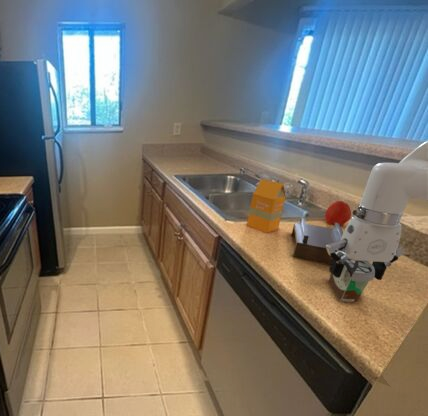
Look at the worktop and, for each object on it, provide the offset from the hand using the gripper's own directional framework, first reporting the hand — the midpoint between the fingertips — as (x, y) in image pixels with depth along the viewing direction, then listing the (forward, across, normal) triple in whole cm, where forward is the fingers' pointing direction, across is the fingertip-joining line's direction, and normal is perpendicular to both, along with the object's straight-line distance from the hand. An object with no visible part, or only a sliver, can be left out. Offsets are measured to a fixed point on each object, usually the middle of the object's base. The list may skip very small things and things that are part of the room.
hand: (354, 275), depth 71 cm
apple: (+6, +27, +48) cm, 56 cm away
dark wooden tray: (+6, +6, +24) cm, 25 cm away
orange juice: (+6, -4, +42) cm, 43 cm away
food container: (+6, 0, 0) cm, 6 cm away
